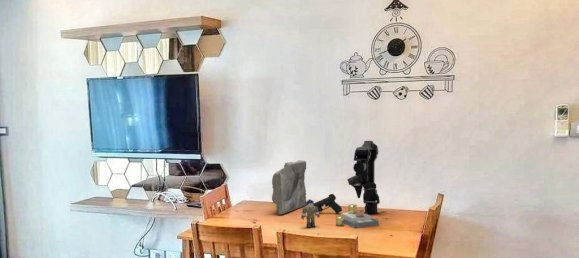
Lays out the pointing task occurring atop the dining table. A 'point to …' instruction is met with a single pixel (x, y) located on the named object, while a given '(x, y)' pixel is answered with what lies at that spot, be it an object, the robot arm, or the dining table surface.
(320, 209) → the handgun
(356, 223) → the scale
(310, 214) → the toy
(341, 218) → the gold cylinder
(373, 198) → the robot arm
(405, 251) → the dining table surface
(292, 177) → the fossil
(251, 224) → the dining table surface
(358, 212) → the brown short cylinder
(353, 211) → the brass short cylinder
